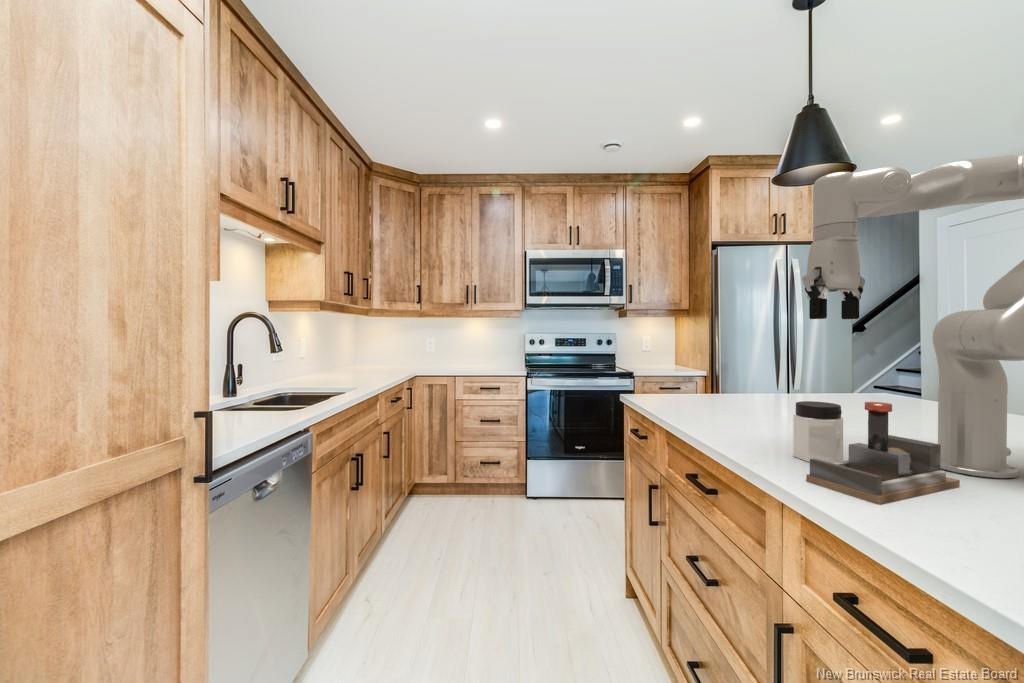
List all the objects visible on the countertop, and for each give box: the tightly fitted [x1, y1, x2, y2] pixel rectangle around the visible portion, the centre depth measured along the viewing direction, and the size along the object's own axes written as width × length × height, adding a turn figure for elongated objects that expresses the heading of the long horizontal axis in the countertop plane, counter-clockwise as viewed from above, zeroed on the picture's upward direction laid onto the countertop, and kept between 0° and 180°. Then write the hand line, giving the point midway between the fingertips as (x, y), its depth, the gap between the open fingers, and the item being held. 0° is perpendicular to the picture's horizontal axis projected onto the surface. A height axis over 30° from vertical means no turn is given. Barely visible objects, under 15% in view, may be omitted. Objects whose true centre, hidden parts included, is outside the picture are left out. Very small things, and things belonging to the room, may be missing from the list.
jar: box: [792, 400, 844, 463], centre depth 95 cm, size 9×8×12 cm
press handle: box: [848, 401, 910, 481], centre depth 79 cm, size 4×8×13 cm, turn 20°
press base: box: [805, 434, 961, 505], centre depth 80 cm, size 22×12×7 cm, turn 110°
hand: (834, 318), depth 91 cm, fingers open, 9 cm apart
